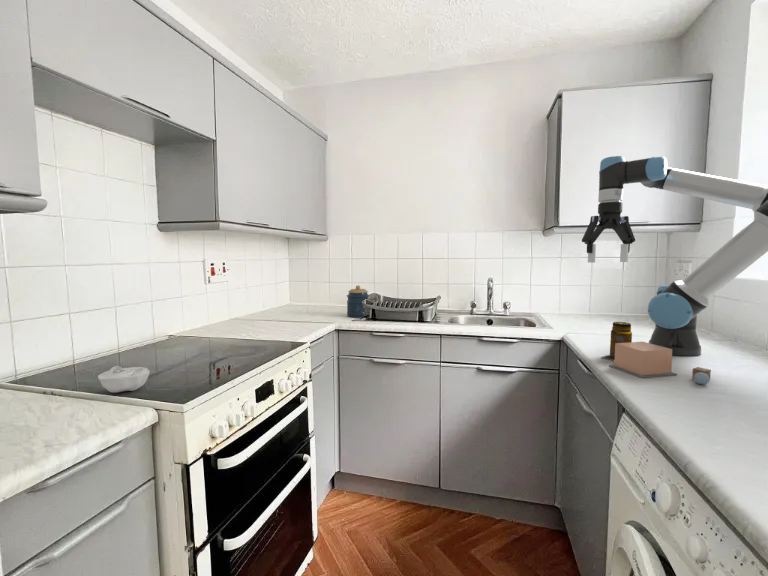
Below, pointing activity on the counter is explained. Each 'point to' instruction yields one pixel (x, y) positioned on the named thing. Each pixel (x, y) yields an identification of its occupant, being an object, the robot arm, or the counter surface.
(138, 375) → the cell model
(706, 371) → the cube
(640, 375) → the mat
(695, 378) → the ball
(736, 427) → the counter surface
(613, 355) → the condiment
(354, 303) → the canister
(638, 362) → the salmon tan box
